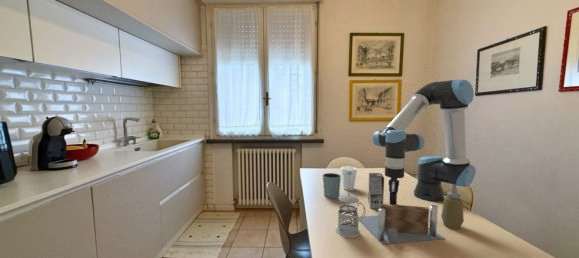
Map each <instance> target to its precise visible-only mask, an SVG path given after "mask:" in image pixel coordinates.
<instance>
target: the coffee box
mask: <svg viewBox="0 0 579 258" xmlns="http://www.w3.org/2000/svg"><path fill="white" fill-rule="evenodd" d="M384 191H385V177H384V175H383V174H382V173H380V172H377V173H376V172H369V173H368V205H369V209H377V210H378V209H379V208H380V203H381V204H384Z"/></svg>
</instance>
